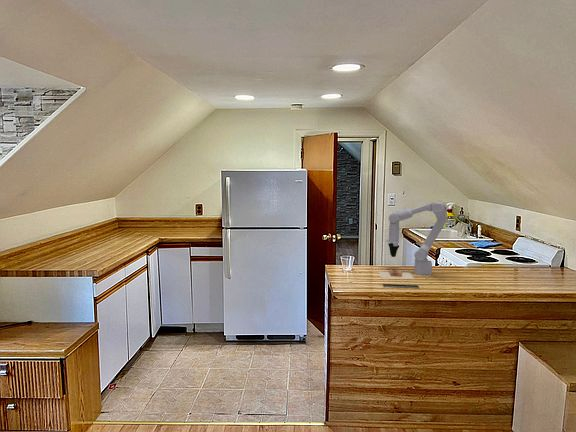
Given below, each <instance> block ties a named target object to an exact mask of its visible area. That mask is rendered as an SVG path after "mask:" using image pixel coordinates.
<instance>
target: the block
mask: <svg viewBox="0 0 576 432" xmlns="http://www.w3.org/2000/svg"><path fill="white" fill-rule="evenodd" d="M388 272H389V274H390V275H391V276H395V277H402V273H403V272H402V271H401V269H393V268H392V269H391V268H390V269H389V270H388Z"/></svg>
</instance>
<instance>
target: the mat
mask: <svg viewBox="0 0 576 432" xmlns="http://www.w3.org/2000/svg"><path fill="white" fill-rule="evenodd" d="M382 286H383V287H384V288H400V289H402V288H403V289H420V286H419V285H418V284H416V285H415V284H413V285H412V284H390V283H387V284H386V283H382Z"/></svg>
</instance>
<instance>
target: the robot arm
mask: <svg viewBox="0 0 576 432" xmlns="http://www.w3.org/2000/svg"><path fill="white" fill-rule="evenodd" d="M426 211H427V212H432V213H433V214H434V215H435V218H436V222H435V223H434V225H433V227H432V228H431V230H430V231H429V233H428V235H427V237H426V238H425V240H424V242H423V243H422V244H421V246H420V247H419V248H418V249H417V250H416V251H415V252H414V254H413V255H414V263H413V266H414V267H413V273H414V274H415V275H420V276H425V275H426V276H432V275H433V274H432V273H433V261H432V260H428V256H429V251H430V249H431V248H432V246H433V244H434V243H435V241H436V240H437V237H438V236H439V235H440V233H441V231H442V230H443V228H444V227H445V225H446V224H447V222H448V208H447V206H446V203H445V202H444V201H443V200H437V201H436V202H435V201H434V202H428V203H426V204H422V205H420V206H417V207H414V208H409V207H404V208H403V209H401V210H397V211H395V212H392V213H391V214H389V215H388V221H389V227H388V240H386V242H387V245H388V248H389V253H390V256H391V257H392V258H395V257H397V256H396V255H397V254H398V253H397V252H398V249H399V248H400V245H399V242H400V240H399V239H400V221H405V220H408V219H411V218H412V217H413V216H414V215H415V214H419V213H423V212H426Z"/></svg>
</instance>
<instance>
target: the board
mask: <svg viewBox="0 0 576 432" xmlns="http://www.w3.org/2000/svg"><path fill="white" fill-rule="evenodd" d="M377 272H378V275H379V277H380V278H381V279H405V280H406V279H408V280H409V279H410V280H414V279H415V278H414V276H413V275H412V273H411V272H402V277H395V276H391V275H390V274H389V271H377Z"/></svg>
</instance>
